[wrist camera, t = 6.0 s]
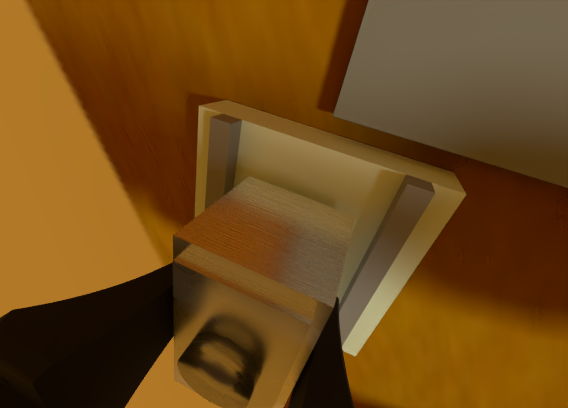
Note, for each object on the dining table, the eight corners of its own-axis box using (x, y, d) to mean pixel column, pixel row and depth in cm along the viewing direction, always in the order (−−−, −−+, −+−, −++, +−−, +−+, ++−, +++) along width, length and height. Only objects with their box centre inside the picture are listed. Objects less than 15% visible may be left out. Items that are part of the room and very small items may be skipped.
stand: (453, 172, 12) (473, 205, 9) (359, 323, 18) (353, 372, 15) (226, 99, 14) (184, 108, 11) (212, 256, 21) (182, 288, 18)
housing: (306, 326, 15) (261, 464, 10) (230, 290, 16) (153, 399, 11) (355, 215, 11) (322, 353, 6) (249, 176, 12) (137, 262, 7)
